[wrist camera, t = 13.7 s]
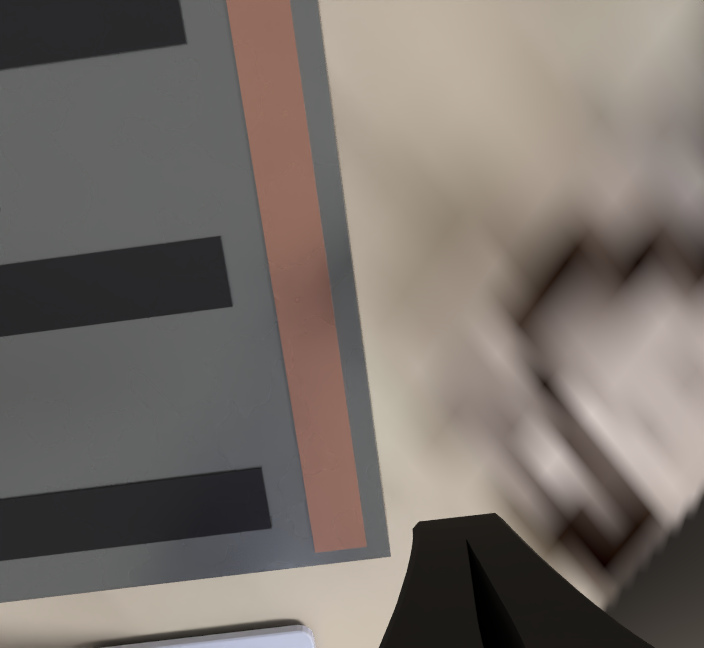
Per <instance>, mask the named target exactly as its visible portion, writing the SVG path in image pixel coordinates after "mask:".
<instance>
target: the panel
mask: <svg viewBox="0 0 704 648" xmlns="http://www.w3.org/2000/svg"><path fill="white" fill-rule="evenodd" d="M382 557H391V554H390V544H389V535H388V526H387V519H386V511H385V504H384V496H383V488H382V481H381V473H380V466H379V458H378V450H377V443H376V435H375V428H374V420H373V412H372V405H371V397H370V390H369V382H368V374H367V367H366V359H365V352H364V344H363V336H362V329H361V321H360V314H359V306H358V298H357V291H356V283H355V276H354V268H353V260H352V253H351V245H350V238H349V230H348V222H347V215H346V207H345V200H344V192H343V185H342V177H341V169H340V162H339V154H338V147H337V139H336V131H335V124H334V116H333V109H332V101H331V93H330V86H329V78H328V71H327V63H326V55H325V48H324V40H323V33H322V25H321V17H320V10H319V2H318V0H0V603H2V602H11V601H19V600H27V599H36V598H44V597H53V596H61V595H70V594H78V593H87V592H95V591H104V590H112V589H120V588H129V587H137V586H146V585H154V584H163V583H171V582H180V581H188V580H196V579H205V578H213V577H222V576H230V575H239V574H247V573H256V572H264V571H272V570H281V569H289V568H298V567H306V566H315V565H323V564H332V563H340V562H349V561H357V560H365V559H374V558H382Z"/></svg>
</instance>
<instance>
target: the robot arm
mask: <svg viewBox="0 0 704 648" xmlns="http://www.w3.org/2000/svg"><path fill="white" fill-rule="evenodd" d="M102 648H316V645H315V640H314V635H313V632H312V631H311V630H310V629H309V628H308V627H306V626H304V625H292V626H283V627H275V628H266V629H257V630H249V631H240V632H232V633H223V634H214V635H206V636H197V637H188V638H180V639H171V640H163V641H154V642H145V643H137V644H128V645H119V646H111V647H102ZM379 648H654V647H653V646H651V645H650V644H648V643H647V642H645V641H644V640H642V639H641V638H639V637H638V636H636V635H635V634H633V633H632V632H631V631H629V630H628V629H626V628H625V627H623V626H622V625H621V624H619V623H618V622H617V621H616V620H614V619H613V618H612V617H610V616H609V615H608V614H607V613H605V612H604V611H603V610H601V609H600V608H599V607H598V606H596V605H595V604H594V603H593V602H591V601H590V600H589V599H588V598H586V597H585V596H584V595H583V594H582V593H580V592H579V591H578V590H577V589H576V588H575V587H573V586H572V585H571V584H570V583H569V582H568V581H567V580H566V579H564V578H563V577H562V576H561V575H560V574H559V573H558V572H556V571H555V570H554V569H553V568H552V567H551V566H550V565H549V564H548V563H546V562H545V561H544V560H543V559H542V558H541V557H540V556H539V555H538V554H537V553H536V552H535V551H534V550H533V549H532V548H531V547H530V546H529V545H528V544H527V543H526V542H525V541H524V540H523V539H522V538H521V537H519V535H518V534H517V533H516V532H515V531H514V530H513V529H512V528H511V527H510V526H509V525H508V524H507V523H506V522H505V521H504V520H503V519H502V518H501V517H499V516H498V515H497V514H496V513H491V514H482V515H473V516H464V517H455V518H447V519H438V520H429V521H420V522H418V523H417V525H416V526H415V527H414V528H413V543H412V550H411V556H410V560H409V564H408V568H407V573H406V576H405V579H404V582H403V585H402V589H401V592H400V595H399V598H398V601H397V604H396V607H395V610H394V612H393V615H392V617H391V620H390V622H389V624H388V627H387V629H386V632H385V634H384V637H383V639H382V642H381V644H380V646H379Z"/></svg>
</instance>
